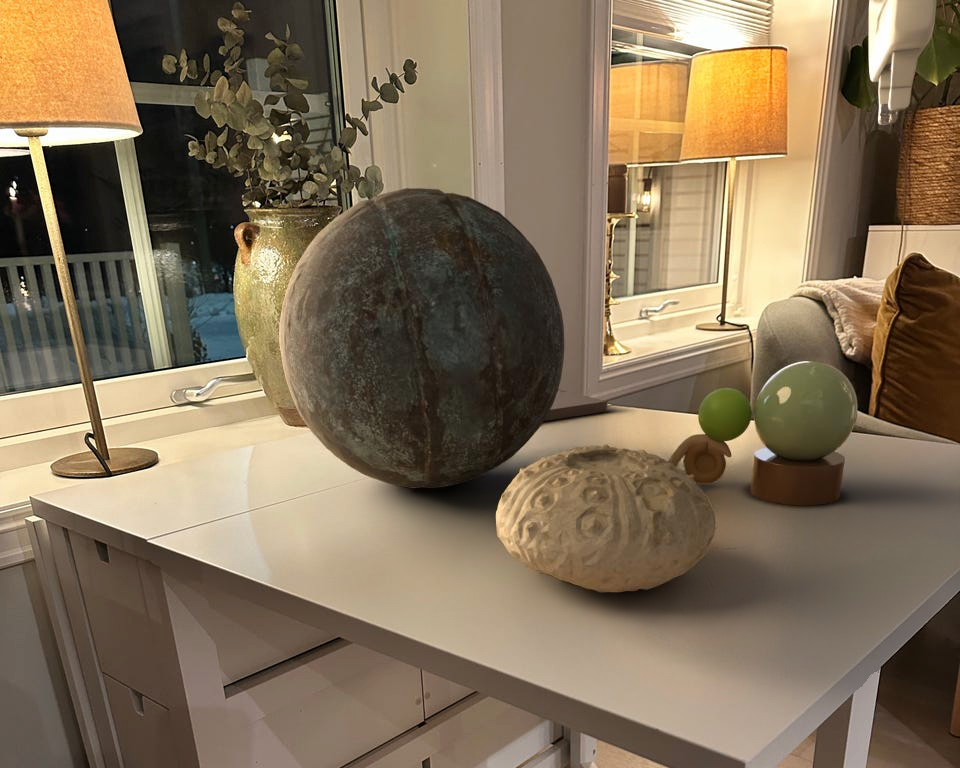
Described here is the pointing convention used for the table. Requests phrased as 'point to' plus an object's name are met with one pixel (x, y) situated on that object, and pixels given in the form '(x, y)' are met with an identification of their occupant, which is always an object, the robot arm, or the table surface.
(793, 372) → the ball stand
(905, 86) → the robot arm
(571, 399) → the notebook
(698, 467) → the snail figurine
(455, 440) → the metal sphere
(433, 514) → the table surface
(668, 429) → the table surface
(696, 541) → the decorative shell
